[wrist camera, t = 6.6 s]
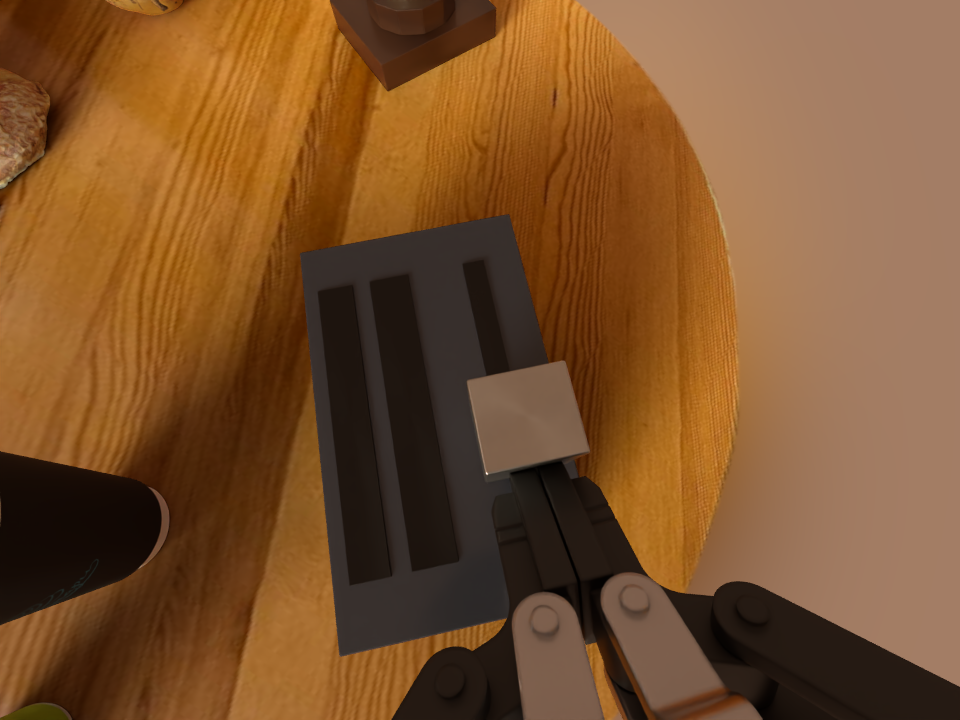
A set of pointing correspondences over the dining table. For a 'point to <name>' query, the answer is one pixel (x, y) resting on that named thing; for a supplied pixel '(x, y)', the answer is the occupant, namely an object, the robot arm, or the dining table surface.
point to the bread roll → (21, 124)
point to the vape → (39, 713)
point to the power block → (412, 33)
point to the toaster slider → (526, 419)
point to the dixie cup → (70, 532)
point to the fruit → (147, 6)
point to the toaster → (413, 422)
